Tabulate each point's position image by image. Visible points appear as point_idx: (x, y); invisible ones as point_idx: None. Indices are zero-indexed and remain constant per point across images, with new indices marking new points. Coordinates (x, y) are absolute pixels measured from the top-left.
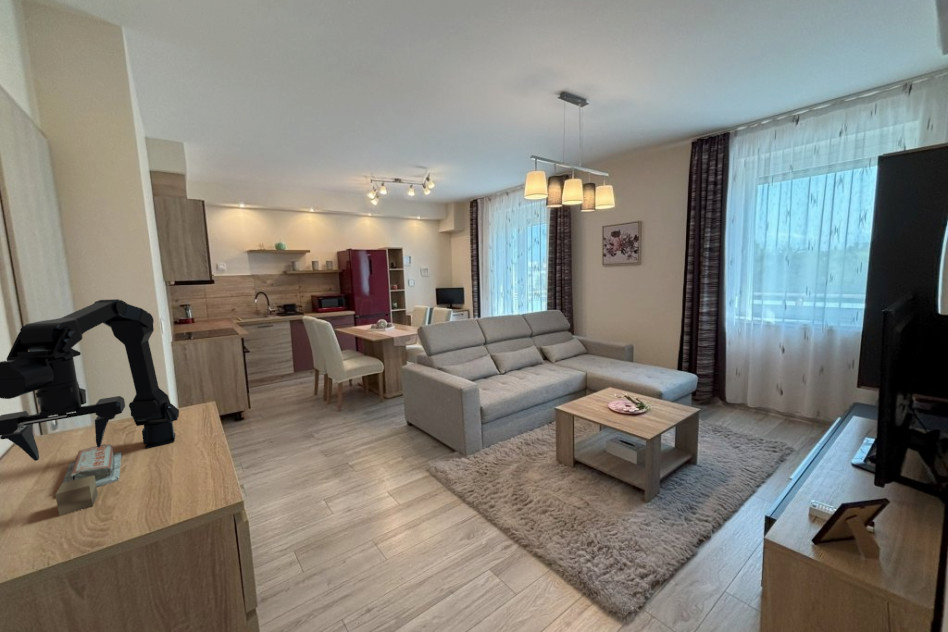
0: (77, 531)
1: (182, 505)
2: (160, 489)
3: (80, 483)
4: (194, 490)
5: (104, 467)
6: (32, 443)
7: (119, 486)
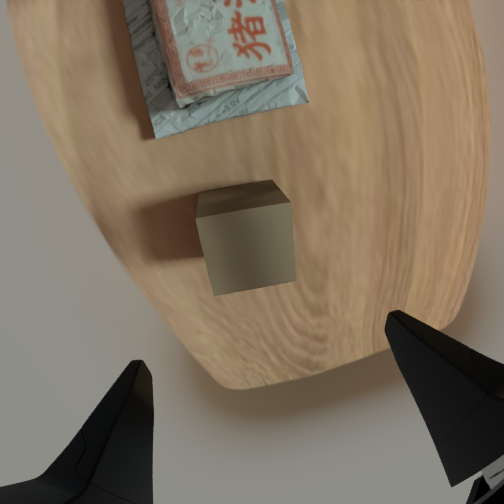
0: (278, 330)
1: (416, 310)
2: (402, 232)
3: (263, 252)
4: (439, 269)
5: (279, 74)
6: (133, 464)
7: (317, 150)
